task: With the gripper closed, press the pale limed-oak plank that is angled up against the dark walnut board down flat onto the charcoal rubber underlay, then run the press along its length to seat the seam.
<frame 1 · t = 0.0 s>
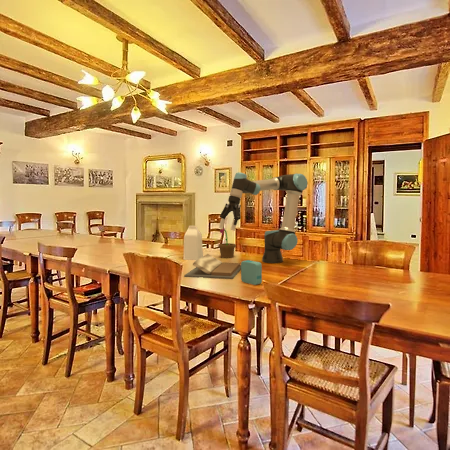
hand: (226, 229, 208), 28 cm above the table, tool tilted 20°, fingers open, 13 cm apart
milk: (193, 258, 262), on the table
flowerpot: (227, 257, 267), on the table
plank: (208, 263, 217), point 5 cm above the table, hinge at 28.0°
floor frame: (217, 271, 216), on the table
data package: (251, 283, 187), on the table
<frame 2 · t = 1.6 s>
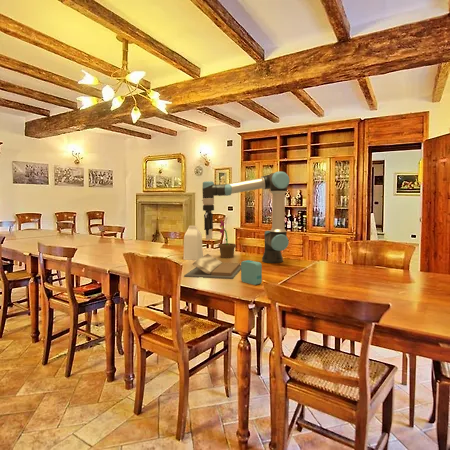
hand: (208, 239, 226), 20 cm above the table, tool pointing down, fingers open, 5 cm apart
nothing on the table moved.
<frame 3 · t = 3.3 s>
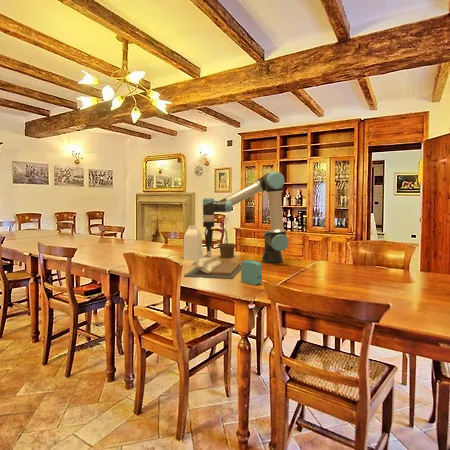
hand: (209, 255, 227), 8 cm above the table, tool pointing down, fingers closed
plank: (208, 263, 217), point 5 cm above the table, hinge at 27.5°, touching gripper
everything else where it was.
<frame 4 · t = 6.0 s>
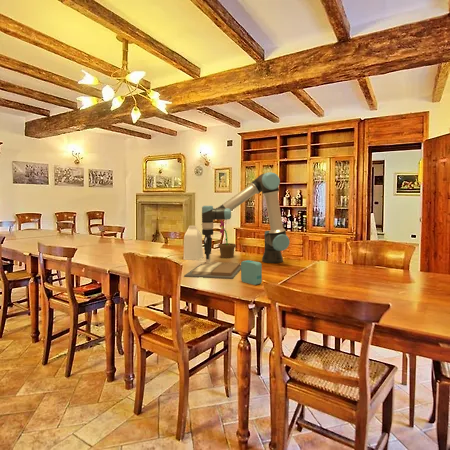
hand: (208, 263, 225), 3 cm above the table, tool pointing down, fingers closed
plank: (208, 267, 217), point 2 cm above the table, hinge at -0.1°
everything else where it was.
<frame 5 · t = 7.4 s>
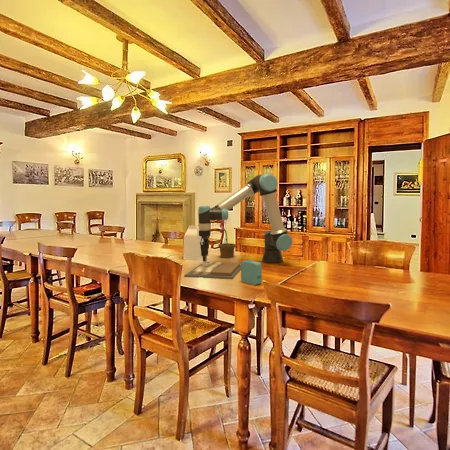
hand: (205, 265, 218), 3 cm above the table, tool pointing down, fingers closed
nothing on the table moved.
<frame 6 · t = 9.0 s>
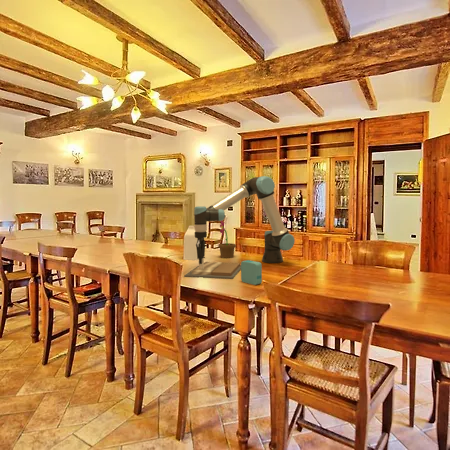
hand: (201, 268, 210), 3 cm above the table, tool pointing down, fingers closed
plank: (208, 267, 217), point 2 cm above the table, hinge at -0.1°, touching gripper
everything else where it was.
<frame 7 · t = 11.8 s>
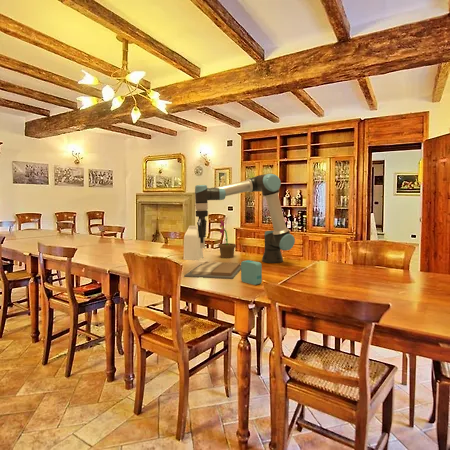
hand: (202, 247, 209), 16 cm above the table, tool pointing down, fingers closed
plank: (208, 267, 217), point 2 cm above the table, hinge at -0.1°
everything else where it was.
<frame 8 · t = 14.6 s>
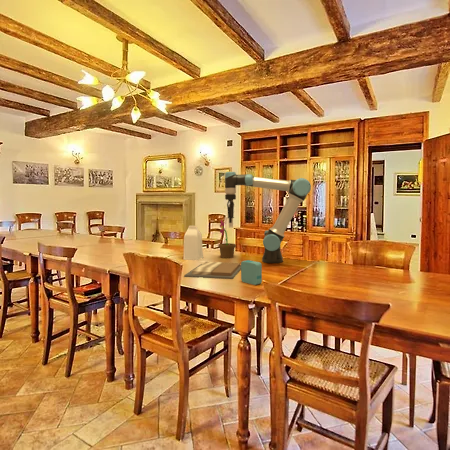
hand: (230, 227, 237), 26 cm above the table, tool pointing down, fingers closed
nothing on the table moved.
at the end: plank at +0° (first picture: +28°); the gripper is holding nothing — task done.
